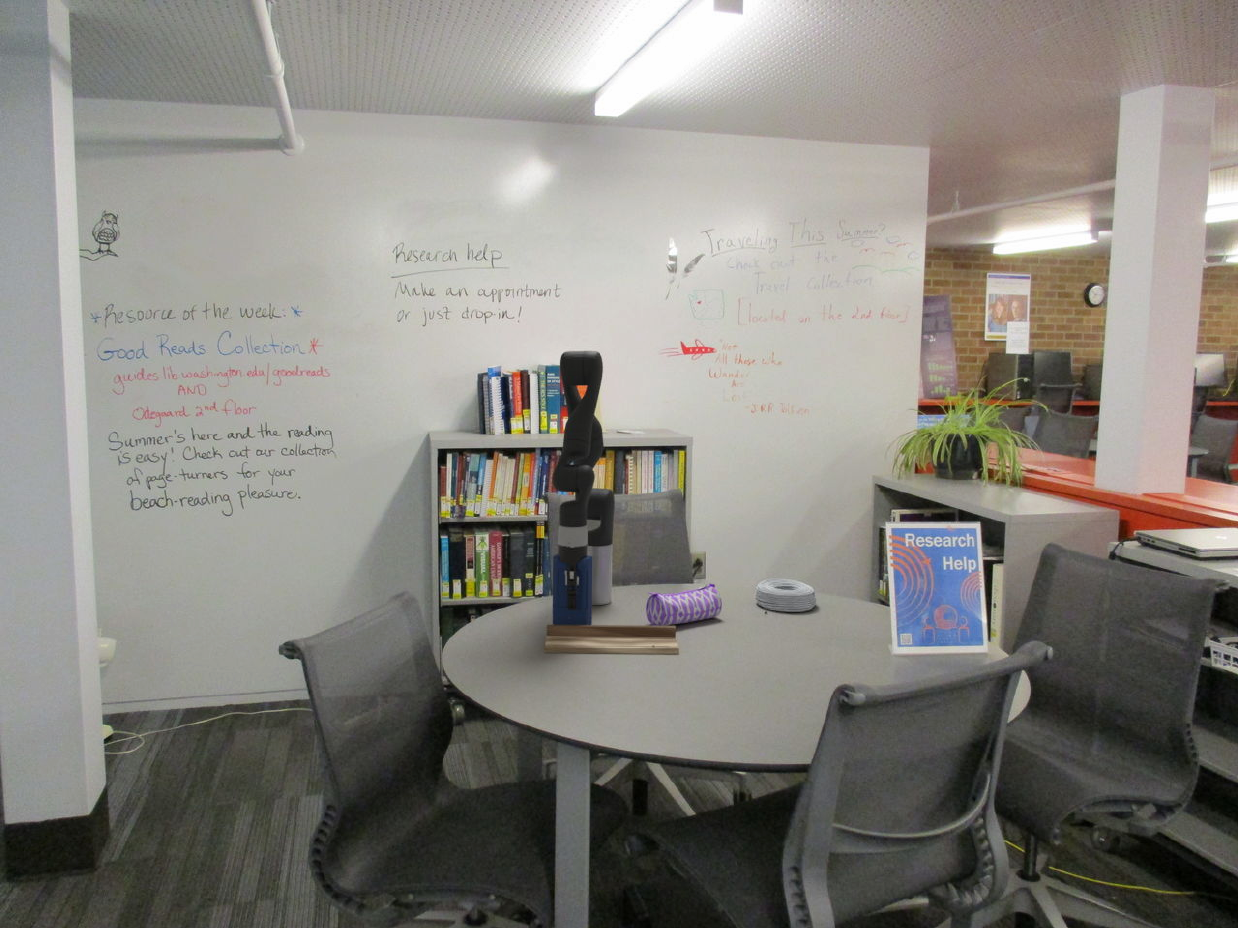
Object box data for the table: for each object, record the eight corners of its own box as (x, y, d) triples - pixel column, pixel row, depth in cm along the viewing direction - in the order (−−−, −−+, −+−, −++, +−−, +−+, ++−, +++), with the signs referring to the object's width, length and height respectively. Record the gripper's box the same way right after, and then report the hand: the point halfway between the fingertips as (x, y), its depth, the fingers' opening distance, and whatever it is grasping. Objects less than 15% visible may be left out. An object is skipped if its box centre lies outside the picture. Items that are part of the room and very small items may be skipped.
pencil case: (702, 611, 246) (703, 578, 245) (726, 619, 239) (727, 585, 238) (641, 624, 233) (642, 589, 232) (664, 633, 226) (665, 597, 225)
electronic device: (592, 630, 226) (593, 554, 224) (586, 636, 222) (587, 559, 219) (558, 627, 229) (558, 552, 227) (551, 632, 224) (551, 556, 222)
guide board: (547, 640, 218) (547, 624, 218) (675, 641, 219) (675, 625, 218) (544, 653, 208) (544, 636, 208) (678, 654, 209) (679, 638, 208)
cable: (771, 594, 267) (772, 574, 266) (825, 604, 257) (826, 583, 256) (744, 606, 253) (745, 586, 252) (801, 617, 242) (801, 596, 242)
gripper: (559, 536, 230) (558, 597, 231) (556, 548, 215) (556, 612, 217) (588, 537, 230) (587, 597, 232) (587, 548, 216) (586, 613, 217)
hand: (572, 604), depth 224 cm, fingers open, 7 cm apart
